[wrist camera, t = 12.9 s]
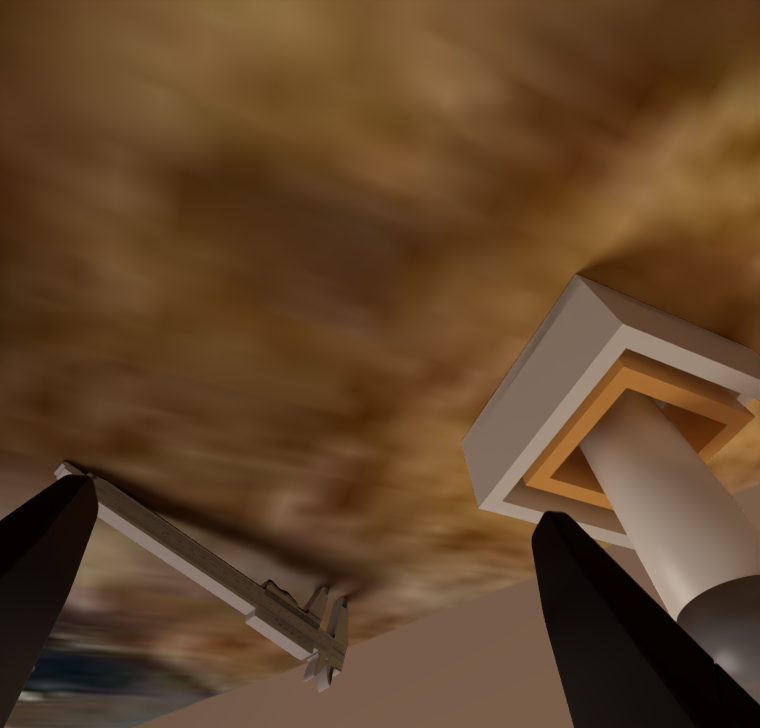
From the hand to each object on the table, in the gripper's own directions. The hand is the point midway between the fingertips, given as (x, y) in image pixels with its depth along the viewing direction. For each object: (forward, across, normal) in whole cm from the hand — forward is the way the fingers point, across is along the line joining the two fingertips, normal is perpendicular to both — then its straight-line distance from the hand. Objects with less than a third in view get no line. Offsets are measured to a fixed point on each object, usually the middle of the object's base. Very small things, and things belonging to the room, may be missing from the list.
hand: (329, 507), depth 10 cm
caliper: (+14, +5, +20) cm, 24 cm away
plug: (+12, -14, +6) cm, 19 cm away
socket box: (+13, -14, +6) cm, 20 cm away
